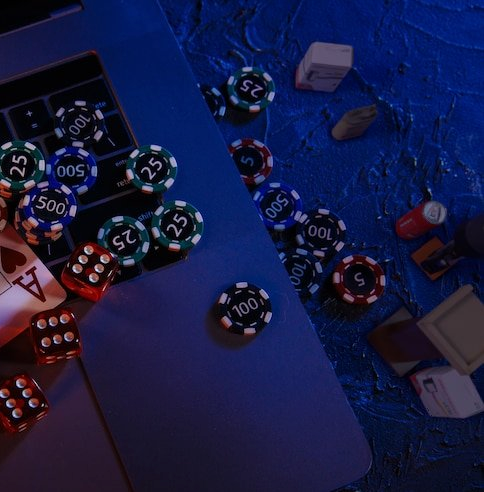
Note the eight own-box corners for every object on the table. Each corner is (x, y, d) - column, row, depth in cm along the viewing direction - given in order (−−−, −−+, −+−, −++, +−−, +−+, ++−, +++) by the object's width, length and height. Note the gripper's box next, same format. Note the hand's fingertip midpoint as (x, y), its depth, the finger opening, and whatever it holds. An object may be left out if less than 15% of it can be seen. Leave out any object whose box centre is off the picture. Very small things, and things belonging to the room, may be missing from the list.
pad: (433, 237, 128) (450, 229, 122) (455, 262, 127) (473, 254, 121) (410, 255, 128) (425, 248, 121) (432, 280, 126) (449, 274, 120)
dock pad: (462, 286, 103) (470, 283, 101) (507, 336, 101) (516, 335, 99) (415, 323, 102) (422, 321, 99) (460, 375, 100) (468, 375, 97)
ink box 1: (294, 90, 137) (311, 61, 125) (295, 69, 138) (312, 39, 126) (334, 94, 136) (354, 66, 125) (334, 73, 137) (354, 44, 126)
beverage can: (390, 234, 129) (417, 218, 117) (398, 213, 130) (426, 195, 118) (413, 245, 128) (443, 229, 116) (421, 223, 129) (452, 206, 118)
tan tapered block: (334, 142, 134) (351, 122, 124) (328, 126, 134) (345, 105, 125) (365, 134, 134) (385, 113, 124) (359, 118, 135) (378, 97, 125)
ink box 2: (407, 375, 122) (437, 373, 110) (430, 365, 122) (462, 362, 111) (429, 417, 120) (462, 420, 109) (452, 407, 120) (487, 409, 109)
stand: (401, 307, 125) (462, 288, 103) (435, 347, 123) (505, 336, 101) (364, 336, 124) (417, 323, 102) (398, 377, 122) (460, 373, 100)
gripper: (473, 274, 106) (426, 289, 122) (532, 227, 108) (478, 248, 124) (443, 240, 108) (400, 259, 124) (502, 194, 110) (452, 219, 126)
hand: (439, 254), depth 124 cm, fingers open, 8 cm apart
